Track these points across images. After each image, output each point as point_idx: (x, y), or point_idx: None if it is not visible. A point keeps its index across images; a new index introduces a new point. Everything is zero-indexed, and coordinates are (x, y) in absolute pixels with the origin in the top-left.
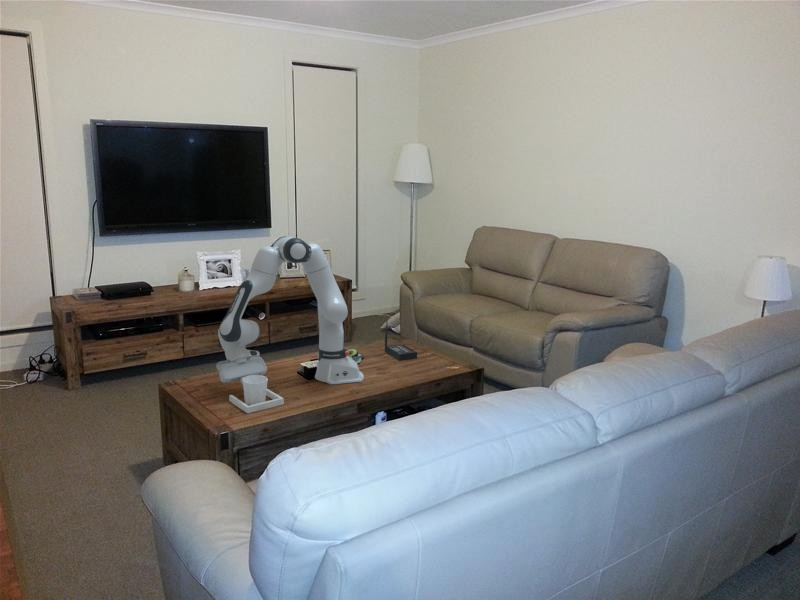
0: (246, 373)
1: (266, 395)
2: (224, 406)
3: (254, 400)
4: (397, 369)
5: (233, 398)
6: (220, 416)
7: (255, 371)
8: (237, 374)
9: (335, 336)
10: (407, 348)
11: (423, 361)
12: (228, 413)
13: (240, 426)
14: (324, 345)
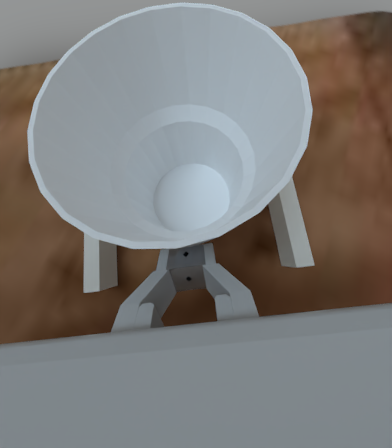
0: (174, 352)
1: (115, 247)
2: (333, 212)
3: (207, 151)
4: None
5: (300, 214)
6: (370, 122)
7: (21, 368)
8: (343, 353)
9: None
10: None
11: None
12: (331, 136)
13: (314, 27)
14: None
